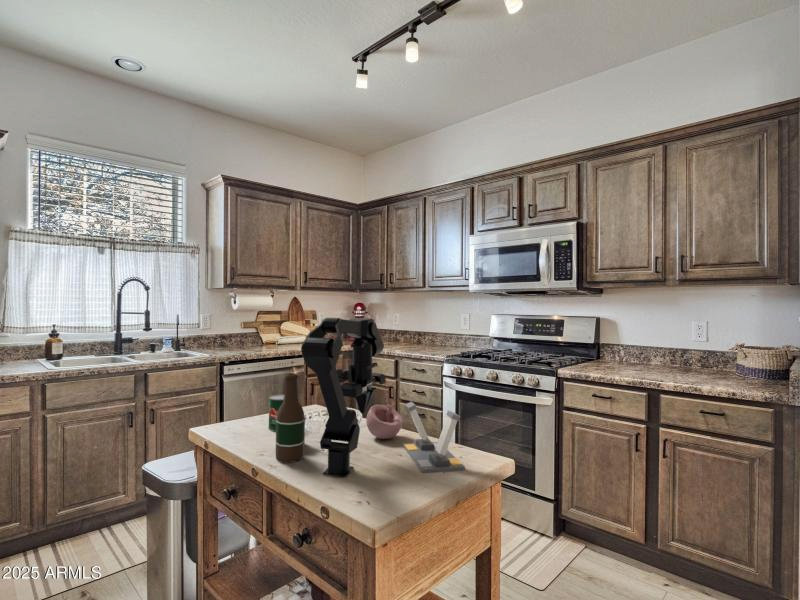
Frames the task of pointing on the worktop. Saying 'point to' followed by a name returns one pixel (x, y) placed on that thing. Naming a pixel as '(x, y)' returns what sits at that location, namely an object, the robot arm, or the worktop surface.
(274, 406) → the canned tomato
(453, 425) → the lever front
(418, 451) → the switch base
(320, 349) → the robot arm
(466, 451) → the worktop surface
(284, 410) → the beer bottle
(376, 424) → the mortar and pestle
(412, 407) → the lever rear
